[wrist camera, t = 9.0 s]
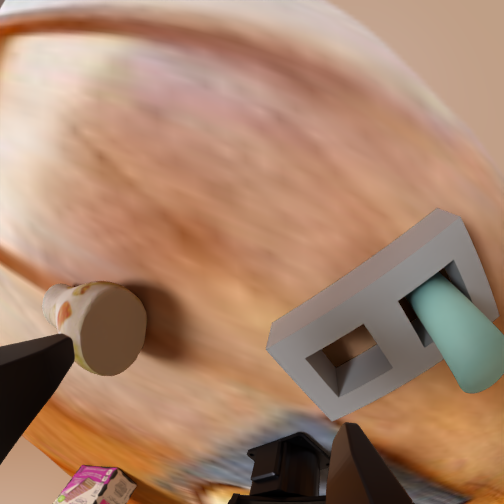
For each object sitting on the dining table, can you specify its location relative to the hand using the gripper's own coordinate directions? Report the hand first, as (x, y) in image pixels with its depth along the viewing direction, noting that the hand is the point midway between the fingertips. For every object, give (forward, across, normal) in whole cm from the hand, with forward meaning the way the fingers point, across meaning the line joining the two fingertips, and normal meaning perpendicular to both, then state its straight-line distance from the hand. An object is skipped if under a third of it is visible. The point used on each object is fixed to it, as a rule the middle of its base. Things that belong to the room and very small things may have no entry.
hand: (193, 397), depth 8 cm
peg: (+13, -11, -1) cm, 17 cm away
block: (+13, -9, +1) cm, 16 cm away
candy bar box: (+13, +16, +41) cm, 46 cm away
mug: (+13, +12, +8) cm, 20 cm away
